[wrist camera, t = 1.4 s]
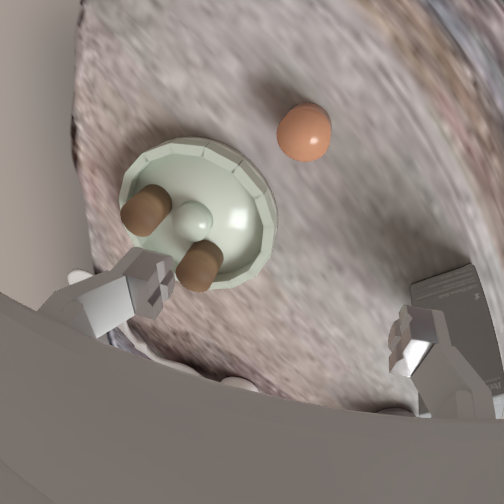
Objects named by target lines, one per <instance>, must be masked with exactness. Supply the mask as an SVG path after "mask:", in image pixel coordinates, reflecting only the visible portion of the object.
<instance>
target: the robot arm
mask: <svg viewBox="0 0 504 504" xmlns="http://www.w3.org/2000/svg"><path fill="white" fill-rule="evenodd" d="M172 266H173V258H172V256H170V255H168V254H164V253H160V252H156V251H152V250H148V249H144V248H140V247H132V248H131V249H130V250H129V251H128V252H127V253H126V255H125V256H124V257H123V258H122V259H121V260H120V261H119V262H118V263H117V264H116V265H115V266H114V268H113V269H112V270H111V271H104V272H102V273H99V274H97V275H94V276H92V277H89V278H87V279H84V280H82V281H79V282H77V283H74V284H72V285H69V286H67V287H65V288H62V289H60V290H57V291H55V292H54V293H53V294H52V295H51V296H50V297H49V298H48V299H47V301H46V302H45V303H44V304H43V305H42V306H41V307H40V308H39V309H38V311H35V310H33V309H31V308H29V307H27V306H25V305H23V304H21V303H19V302H17V301H16V300H14V299H12V298H10V297H8V296H7V295H5V294H3V293H1V292H0V504H504V419H496V415H495V409H494V403H493V398H492V392H491V390H490V389H489V387H488V386H487V385H486V384H485V382H484V381H483V380H482V379H481V377H480V376H479V375H478V374H477V372H476V371H475V370H474V369H473V367H472V366H471V365H470V364H469V363H468V361H467V360H466V359H465V358H464V357H463V355H462V354H461V353H460V352H459V351H458V349H457V348H456V347H455V346H451V341H450V337H449V332H448V328H447V324H446V320H445V316H444V313H443V312H442V311H439V310H433V309H425V308H420V307H414V306H409V305H403V306H402V307H401V309H400V311H399V319H398V320H396V321H395V322H394V323H393V325H392V327H391V330H390V333H389V339H388V348H389V349H390V350H391V352H392V353H391V355H390V357H389V373H392V374H398V375H404V376H410V377H411V379H412V381H413V383H414V385H415V387H416V388H417V390H418V392H419V394H420V396H421V397H422V399H423V401H424V403H425V405H426V407H427V409H428V410H429V412H430V414H431V416H432V417H431V418H420V417H407V416H396V415H386V414H377V413H369V412H361V411H354V410H347V409H340V408H334V407H328V406H322V405H316V404H311V403H305V402H300V401H295V400H290V399H285V398H281V397H276V396H272V395H267V394H263V393H259V392H255V391H251V390H247V389H243V388H239V387H235V386H232V385H228V384H224V383H221V382H217V381H214V380H210V379H207V378H203V377H200V376H197V375H193V374H190V373H187V372H184V371H181V370H178V369H175V368H172V367H169V366H166V365H163V364H160V363H157V362H154V361H151V360H148V359H146V358H143V357H140V356H138V355H135V354H132V353H130V352H127V351H124V350H122V349H119V348H117V347H114V346H112V345H109V344H107V343H104V342H102V341H100V340H97V338H98V337H100V336H102V335H103V334H105V333H106V332H108V331H110V330H111V329H113V328H115V327H116V326H118V325H120V324H121V323H123V322H125V321H126V320H128V319H129V318H131V317H133V316H134V315H135V314H137V315H140V316H143V317H147V318H150V319H154V320H155V319H156V318H157V316H158V315H159V313H160V312H161V310H162V309H163V301H166V300H168V299H169V298H170V296H171V294H172V292H173V289H174V286H175V275H174V273H173V272H172V271H171V268H172Z"/></svg>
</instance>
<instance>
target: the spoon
mask: <svg viewBox="0 0 504 504" xmlns="http://www.w3.org/2000/svg"><path fill="white" fill-rule="evenodd" d="M92 276H94V275H93V274H92V273H90V272H87V271H84V270H82V269H73V270H72V271H70V272H69V274H68V277H67V279H68V282H69V284H70V285H72V284H74V283H77V282H79V281H82V280H84V279H87V278H89V277H92ZM117 327H118V328H119V329H120V330H121V331H122V332H123V333H124V334H125V335H126V336H127V337H128V339H129V340H130V341H131V342H132V343H133V344H134V347H135V348H136V349H137V350H140V351H141V352H143V353H144V354H145V355H147V356H148V357H149V358H150V359H152V360H153V361H155V362H157V363H160V364H163V365H166V366H169V367H172V368H175V369H178V370H181V371H184V372H187V373H190V374H193V375H197V376H200V377H203V376H202V375H201V374H199V373H198V372H197V371H196V370H194V369H193V368H191V367H189V366H187V365H185V364H182V363H179V362H175V361H170V360H166V359H163V358H161V357H159V356H157V355H155V354H154V353H153V352H152V351H151V350H150V349H149V348H148V347H147V345H146V344H145V343H144V342H142V341H139V340H138V339H137V338H136V337H135V336H134V335H133V334H132V333H131V331H130V329H129V327H128V325H127V321H125V322H123V323H121V324H120V325H118V326H117ZM203 378H204V377H203Z"/></svg>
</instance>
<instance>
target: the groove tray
mask: <svg viewBox="0 0 504 504" xmlns="http://www.w3.org/2000/svg"><path fill="white" fill-rule="evenodd" d="M149 184H156V185H159V186H161V187H162V188H164V189H165V190H166V191H167V192H168V193H169V195H170V197H171V199H172V210H171V212H170V213H169V214H168V215H167V217H166V218H165V219H164V220H163V221H162V222H161V223H160V224H159V226H158V227H157V228H156V229H155V230H154V231H153V232H152V234H151V235H149V236H147V237H139V236H136V235H134V234H132V233H131V232H130V231H128V230H127V228H126V227H125V226H124V227H125V229H126V231H127V233H128V235H129V237H130V238H131V240H132V242H133V244H134V246H135V247H140V248H144V249H148V250H152V251H156V252H160V253H164V254H168V255H170V256H172V258H173V266H172V268H171V271H172V272H173V273H174V275H175V280H176V281H178V279H177V277H176V272H175V271H176V268H177V266H178V264H179V263H180V261H181V260H182V258H183V257H184V255H185V254H186V253H187V251H188V250H189V248H190V247H191V245H192V244H193V243H194V242H197V241H201V240H208V241H211V242H213V243H214V244H216V245H217V246H218V247H219V248H220V249H221V251H222V253H223V256H224V261H223V263H222V265H221V267H220V269H219V271H218V273H217V275H216V277H215V279H214V281H213V283H212V284H211V286H210V288H209V289H223V288H234V287H236V286H238V285H240V284H242V283H244V282H246V281H248V280H250V279H252V278H254V277H255V276H256V275H257V274H258V273H259V271H260V270H261V269H262V267H263V266H264V264H265V263H266V262H267V260H268V259H269V258H270V256H271V254H272V251H273V248H274V242H275V237H276V233H277V228H278V213H277V206H276V202H275V198H274V196H273V193H272V191H271V188H270V186H269V185H268V183H267V181H266V179H265V178H264V176H263V175H262V174H261V172H260V171H259V170H258V169H257V168H256V166H255V165H254V164H253V163H252V162H251V161H250V160H248V159H247V158H246V157H245V156H244V155H242V154H241V153H240V152H238V151H236V150H235V149H233V148H232V147H230V146H228V145H226V144H223V143H221V142H219V141H215V140H212V139H209V138H203V137H192V136H186V137H178V138H174V139H170V140H167V141H165V142H163V143H161V144H159V145H157V146H154V147H152V148H150V149H148V150H147V151H145V152H144V153H142V154H141V155H140V156H139V157H138V159H137V160H136V161H135V162H134V163H133V164H132V165H131V167H130V168H129V169H128V170H127V171H126V172H125V174H124V178H123V182H122V186H121V190H120V195H119V204H120V210H121V208H122V206H123V205H124V204H125V203H127V202H128V201H129V200H130V199H131V198H132V197H133V196H134V195H136V194H137V193H138V192H139V191H140V190H141V189H142V188H144V187H145V186H146V185H149ZM178 282H179V281H178ZM209 289H208V290H209Z"/></svg>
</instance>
